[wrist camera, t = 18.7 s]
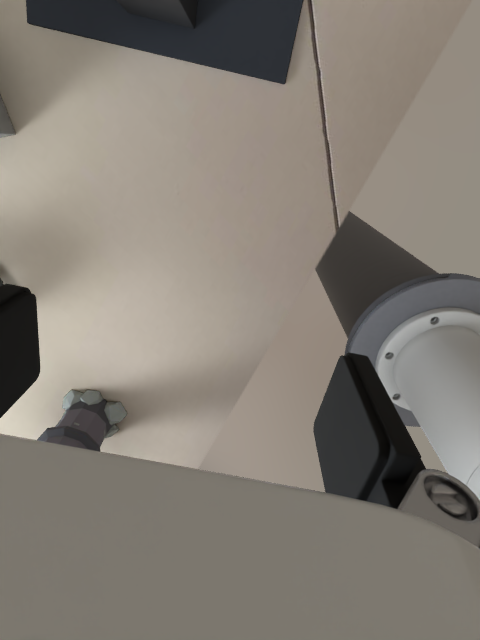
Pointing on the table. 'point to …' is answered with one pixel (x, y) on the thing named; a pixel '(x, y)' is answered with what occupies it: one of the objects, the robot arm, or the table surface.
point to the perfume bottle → (5, 122)
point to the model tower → (85, 421)
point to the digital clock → (164, 10)
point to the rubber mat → (188, 31)
